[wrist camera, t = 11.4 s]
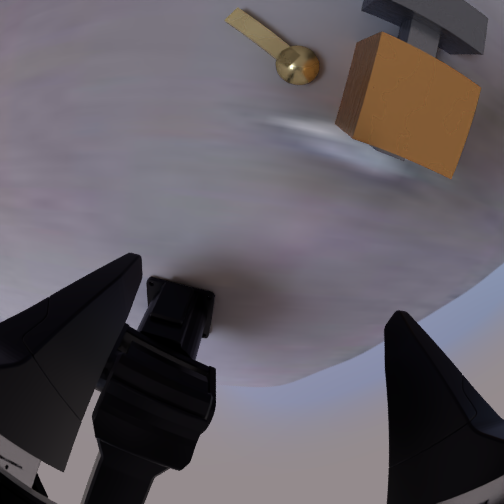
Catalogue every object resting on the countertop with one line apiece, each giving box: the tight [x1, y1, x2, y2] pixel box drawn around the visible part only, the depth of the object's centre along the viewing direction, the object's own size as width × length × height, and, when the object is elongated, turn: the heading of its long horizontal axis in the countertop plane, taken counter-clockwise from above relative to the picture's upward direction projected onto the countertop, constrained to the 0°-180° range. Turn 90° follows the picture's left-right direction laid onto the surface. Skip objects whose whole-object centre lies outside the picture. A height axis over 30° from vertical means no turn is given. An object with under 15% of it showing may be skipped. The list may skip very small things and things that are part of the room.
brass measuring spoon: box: [224, 8, 319, 85], centre depth 14 cm, size 7×3×1 cm, turn 49°
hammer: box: [361, 0, 488, 161], centre depth 12 cm, size 12×7×4 cm, turn 169°
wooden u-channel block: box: [335, 32, 481, 179], centre depth 13 cm, size 6×6×5 cm
